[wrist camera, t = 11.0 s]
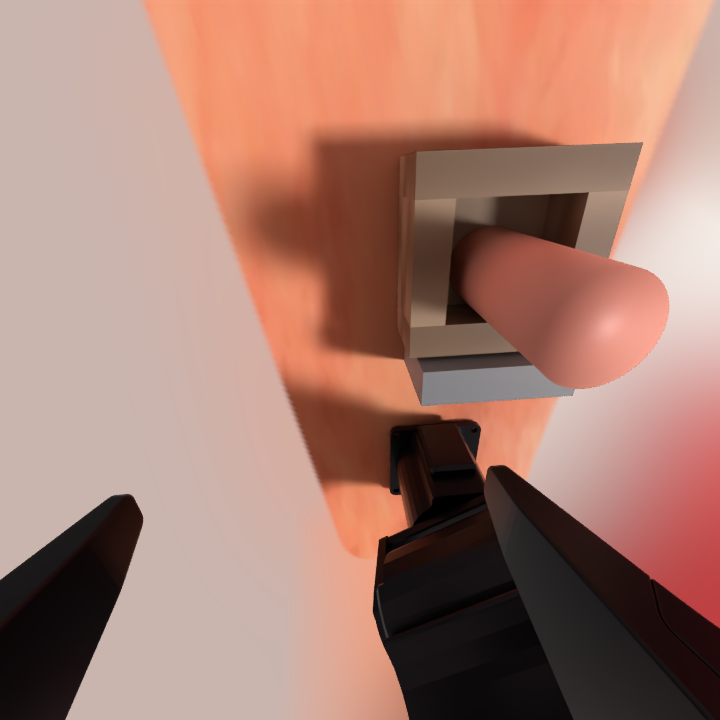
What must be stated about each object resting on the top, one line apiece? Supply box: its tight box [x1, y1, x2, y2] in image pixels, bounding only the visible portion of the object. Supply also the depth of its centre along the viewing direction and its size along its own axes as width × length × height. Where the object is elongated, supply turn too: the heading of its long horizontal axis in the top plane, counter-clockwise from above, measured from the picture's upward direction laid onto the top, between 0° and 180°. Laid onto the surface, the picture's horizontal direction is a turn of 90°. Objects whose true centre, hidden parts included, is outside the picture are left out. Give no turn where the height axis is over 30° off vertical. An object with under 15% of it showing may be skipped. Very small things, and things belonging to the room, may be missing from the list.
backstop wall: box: [404, 347, 574, 406], centre depth 20 cm, size 2×8×5 cm, turn 92°
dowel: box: [449, 226, 669, 389], centre depth 14 cm, size 4×4×9 cm
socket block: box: [397, 142, 643, 358], centre depth 17 cm, size 9×9×4 cm
